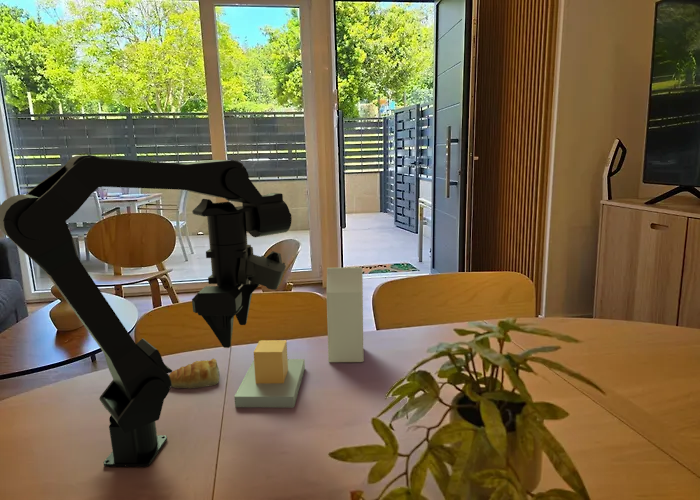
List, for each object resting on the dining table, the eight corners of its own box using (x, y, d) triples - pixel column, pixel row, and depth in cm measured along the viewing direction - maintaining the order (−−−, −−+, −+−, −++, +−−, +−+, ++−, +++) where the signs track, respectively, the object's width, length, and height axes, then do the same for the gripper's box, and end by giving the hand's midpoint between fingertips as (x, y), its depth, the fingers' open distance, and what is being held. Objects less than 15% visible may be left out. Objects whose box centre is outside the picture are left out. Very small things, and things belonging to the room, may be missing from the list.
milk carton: (363, 362, 93) (362, 272, 89) (328, 363, 93) (325, 272, 89) (363, 347, 100) (362, 263, 96) (330, 348, 100) (328, 263, 96)
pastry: (167, 395, 83) (164, 375, 82) (168, 378, 89) (166, 359, 88) (221, 385, 86) (219, 366, 85) (218, 370, 92) (217, 352, 91)
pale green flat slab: (293, 407, 78) (292, 371, 76) (235, 407, 78) (232, 371, 76) (304, 368, 91) (303, 337, 90) (254, 368, 92) (252, 337, 90)
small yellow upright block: (283, 383, 82) (282, 351, 80) (255, 383, 82) (253, 352, 80) (288, 370, 86) (286, 340, 85) (261, 370, 87) (259, 340, 85)
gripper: (267, 255, 62) (273, 361, 66) (289, 230, 80) (293, 314, 84) (185, 255, 63) (196, 361, 66) (226, 231, 81) (233, 315, 84)
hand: (235, 335), depth 75 cm, fingers open, 9 cm apart
